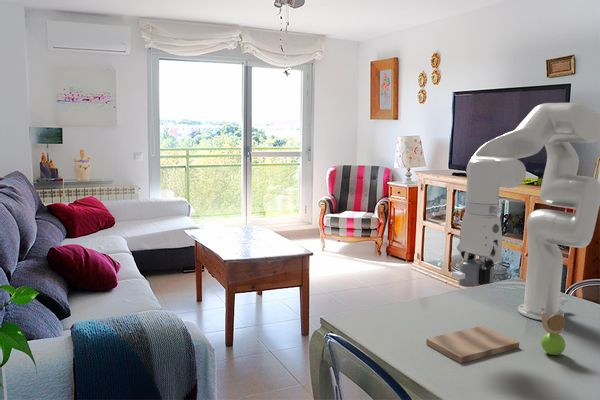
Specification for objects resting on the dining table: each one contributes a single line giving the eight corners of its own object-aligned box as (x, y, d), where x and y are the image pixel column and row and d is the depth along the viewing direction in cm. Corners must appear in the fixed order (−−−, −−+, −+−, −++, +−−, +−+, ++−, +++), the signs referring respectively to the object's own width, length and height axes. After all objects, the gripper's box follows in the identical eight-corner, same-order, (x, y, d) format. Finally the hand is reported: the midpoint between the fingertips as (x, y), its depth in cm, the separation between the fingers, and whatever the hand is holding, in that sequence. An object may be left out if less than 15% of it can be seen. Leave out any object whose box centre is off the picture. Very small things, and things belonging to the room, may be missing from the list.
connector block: (484, 278, 135) (485, 257, 135) (496, 282, 132) (497, 261, 131) (449, 284, 130) (450, 262, 129) (460, 288, 126) (462, 266, 126)
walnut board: (482, 330, 144) (483, 325, 143) (519, 347, 133) (519, 342, 133) (426, 344, 134) (426, 338, 134) (460, 363, 124) (460, 357, 124)
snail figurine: (532, 349, 132) (536, 304, 130) (556, 349, 133) (560, 303, 131) (543, 359, 127) (548, 311, 125) (569, 358, 127) (573, 311, 126)
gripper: (520, 213, 123) (514, 289, 126) (467, 203, 138) (463, 271, 140) (497, 216, 120) (492, 293, 122) (445, 205, 134) (442, 274, 137)
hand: (476, 280), depth 131 cm, fingers closed on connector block, 4 cm apart
